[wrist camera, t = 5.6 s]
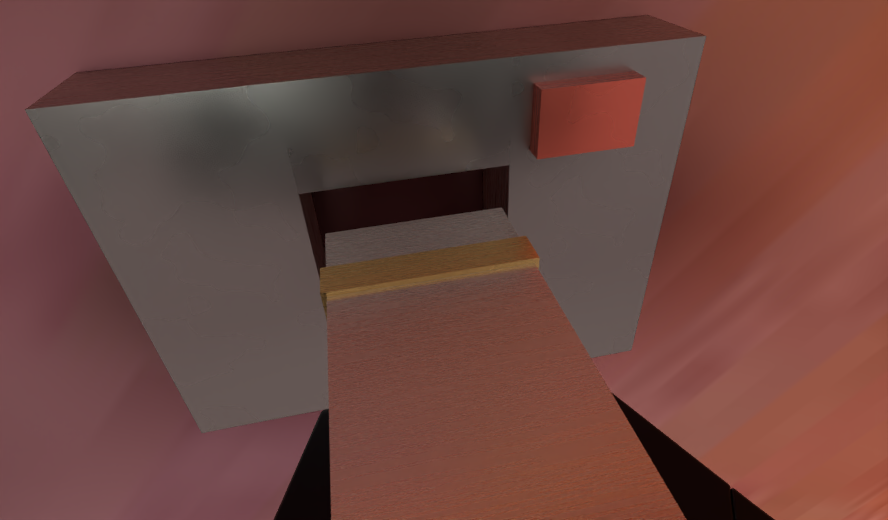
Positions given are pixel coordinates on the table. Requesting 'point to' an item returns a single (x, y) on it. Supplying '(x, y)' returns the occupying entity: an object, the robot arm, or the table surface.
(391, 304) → the post
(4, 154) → the table surface
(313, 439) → the robot arm
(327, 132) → the sleeve block
